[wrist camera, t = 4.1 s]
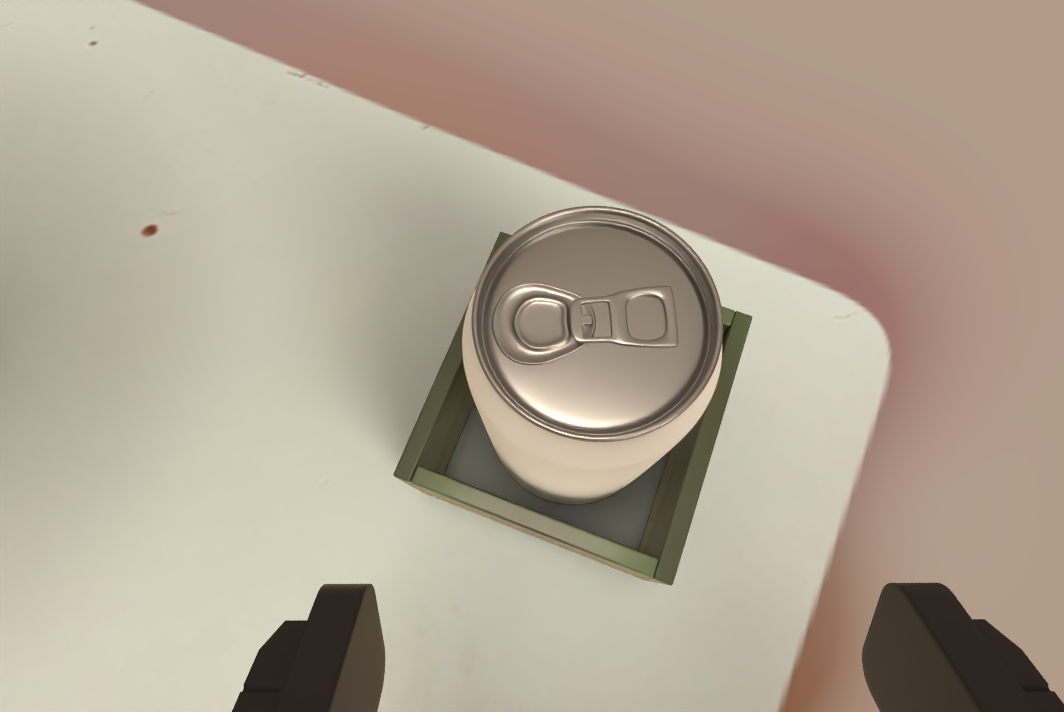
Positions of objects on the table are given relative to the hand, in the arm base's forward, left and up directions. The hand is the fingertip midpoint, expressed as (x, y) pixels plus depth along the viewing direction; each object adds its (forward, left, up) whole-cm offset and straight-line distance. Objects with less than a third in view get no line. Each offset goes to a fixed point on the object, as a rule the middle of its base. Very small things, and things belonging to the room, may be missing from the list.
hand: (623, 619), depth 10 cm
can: (+2, -6, -14) cm, 16 cm away
